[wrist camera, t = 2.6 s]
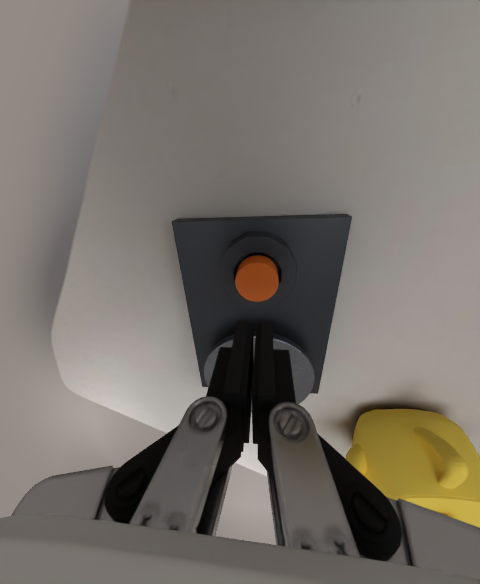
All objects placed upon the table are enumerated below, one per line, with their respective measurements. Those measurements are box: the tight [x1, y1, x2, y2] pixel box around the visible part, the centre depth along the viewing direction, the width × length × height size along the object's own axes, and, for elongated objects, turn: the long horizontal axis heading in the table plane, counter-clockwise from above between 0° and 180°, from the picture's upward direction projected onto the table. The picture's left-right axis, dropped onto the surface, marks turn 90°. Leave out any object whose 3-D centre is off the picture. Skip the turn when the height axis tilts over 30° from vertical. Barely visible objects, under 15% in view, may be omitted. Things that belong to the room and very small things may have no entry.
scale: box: [172, 214, 352, 394], centre depth 21 cm, size 14×20×3 cm
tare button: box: [235, 255, 279, 302], centre depth 17 cm, size 3×3×2 cm
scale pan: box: [204, 331, 315, 412], centre depth 22 cm, size 11×11×1 cm
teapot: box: [346, 409, 480, 528], centre depth 24 cm, size 14×13×10 cm
